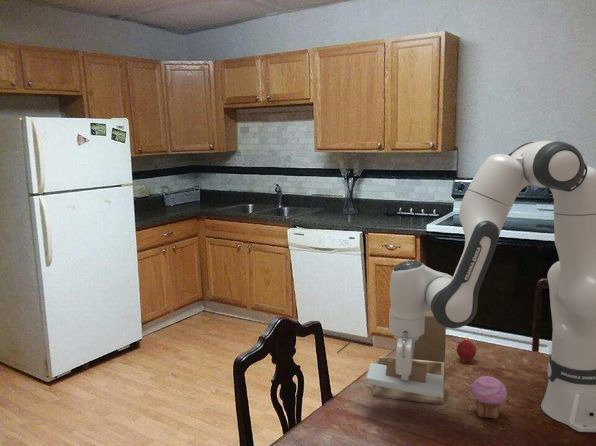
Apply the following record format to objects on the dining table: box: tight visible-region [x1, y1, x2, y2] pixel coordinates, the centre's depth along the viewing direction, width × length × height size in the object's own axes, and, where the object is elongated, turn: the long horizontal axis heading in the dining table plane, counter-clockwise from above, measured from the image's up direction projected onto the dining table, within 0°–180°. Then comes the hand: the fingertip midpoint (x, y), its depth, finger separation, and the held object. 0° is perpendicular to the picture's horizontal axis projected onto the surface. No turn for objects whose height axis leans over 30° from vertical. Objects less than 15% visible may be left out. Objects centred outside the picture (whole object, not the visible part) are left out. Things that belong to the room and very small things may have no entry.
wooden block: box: [413, 311, 447, 379], centre depth 155 cm, size 10×10×20 cm
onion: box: [456, 336, 477, 362], centre depth 162 cm, size 6×6×8 cm
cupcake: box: [469, 375, 508, 420], centre depth 131 cm, size 9×9×10 cm
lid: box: [365, 356, 445, 397], centre depth 131 cm, size 19×9×6 cm, turn 74°
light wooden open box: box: [372, 355, 445, 405], centre depth 143 cm, size 19×9×8 cm, turn 74°
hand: (405, 375), depth 131 cm, fingers closed on lid, 2 cm apart
